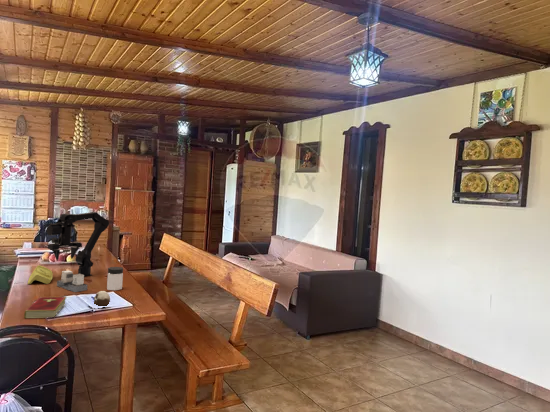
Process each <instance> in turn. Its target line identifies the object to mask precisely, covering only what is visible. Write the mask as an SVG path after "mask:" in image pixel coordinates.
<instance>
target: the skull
mask: <svg viewBox="0 0 550 412" xmlns="http://www.w3.org/2000/svg"><path fill="white" fill-rule="evenodd" d="M93 302H94V304H96V305H98V306H107V305H108V304H109V302H111V297H110V294H109V293H108V292H107V291H105V290H100V291H98V292H97V293H96V294H95V296H94V297H93Z"/></svg>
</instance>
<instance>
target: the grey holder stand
mask: <svg viewBox="0 0 550 412" xmlns="http://www.w3.org/2000/svg"><path fill="white" fill-rule="evenodd" d="M84 281H85V276H84V275H82V274H78V273H76V274H73V276H72V281H71V282H65V283H64V282H61V279H60V280H56V287H59V288H61V289H65V290H67V291H70V292H73V293H78V292H83V291H88V284H86V283H84Z"/></svg>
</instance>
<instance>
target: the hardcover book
mask: <svg viewBox="0 0 550 412" xmlns="http://www.w3.org/2000/svg"><path fill="white" fill-rule="evenodd" d="M66 299H67V296H39V298H37V300H35V301H34V302H33V303H32V304H31V305H30V306H29V307H28V308H27V309H26V310H24V313H23V314H24V315H23V316H24V317H23V318H24V319H48V318H47V317H54V316H55V315H56V313H57V312H58V311H59V310H60V309H61V310H62V308H63V307H64V306H65V305H64V304H66ZM63 305H64V306H63ZM62 306H63V307H62ZM61 307H62V308H61ZM59 312H60V311H59ZM59 312H58V313H59ZM58 313H57V314H58ZM56 316H57V315H56ZM56 316H55V317H56ZM55 317H54V318H55Z"/></svg>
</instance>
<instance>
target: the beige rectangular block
mask: <svg viewBox="0 0 550 412" xmlns="http://www.w3.org/2000/svg"><path fill="white" fill-rule="evenodd" d="M73 272H74V271H71V270H62V271H61V279H60V280H61V282H64V283H65V282H71V281H72V276H73V275H74V273H73Z"/></svg>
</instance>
